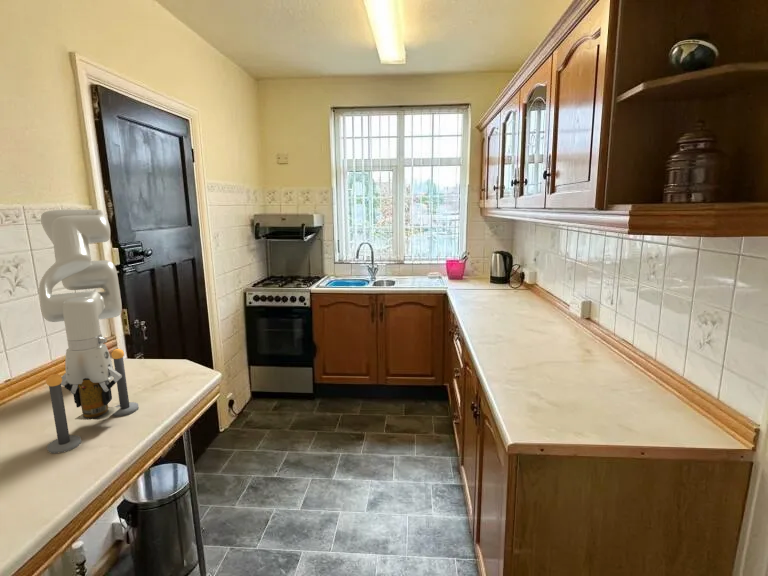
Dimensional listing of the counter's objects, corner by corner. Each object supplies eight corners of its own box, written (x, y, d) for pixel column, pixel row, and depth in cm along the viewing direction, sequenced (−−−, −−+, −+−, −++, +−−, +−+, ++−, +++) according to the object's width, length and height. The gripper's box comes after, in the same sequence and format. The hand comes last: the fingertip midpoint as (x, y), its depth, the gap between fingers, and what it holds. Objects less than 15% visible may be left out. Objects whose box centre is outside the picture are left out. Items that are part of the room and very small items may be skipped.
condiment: (92, 407, 124) (87, 368, 121) (121, 407, 124) (116, 368, 121) (74, 420, 117) (67, 379, 114) (104, 420, 117) (99, 379, 114)
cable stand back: (117, 406, 133) (108, 346, 129) (141, 404, 134) (134, 344, 130) (107, 417, 126) (98, 353, 122) (133, 414, 127) (125, 352, 123)
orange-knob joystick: (56, 440, 114) (45, 370, 110) (86, 437, 115) (75, 368, 111) (41, 454, 107) (28, 381, 103) (73, 451, 108) (61, 378, 105)
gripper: (125, 336, 121) (132, 395, 125) (56, 340, 118) (66, 400, 122) (114, 345, 114) (122, 407, 118) (41, 349, 111) (51, 413, 114)
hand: (94, 403), depth 120 cm, fingers closed on condiment, 6 cm apart
